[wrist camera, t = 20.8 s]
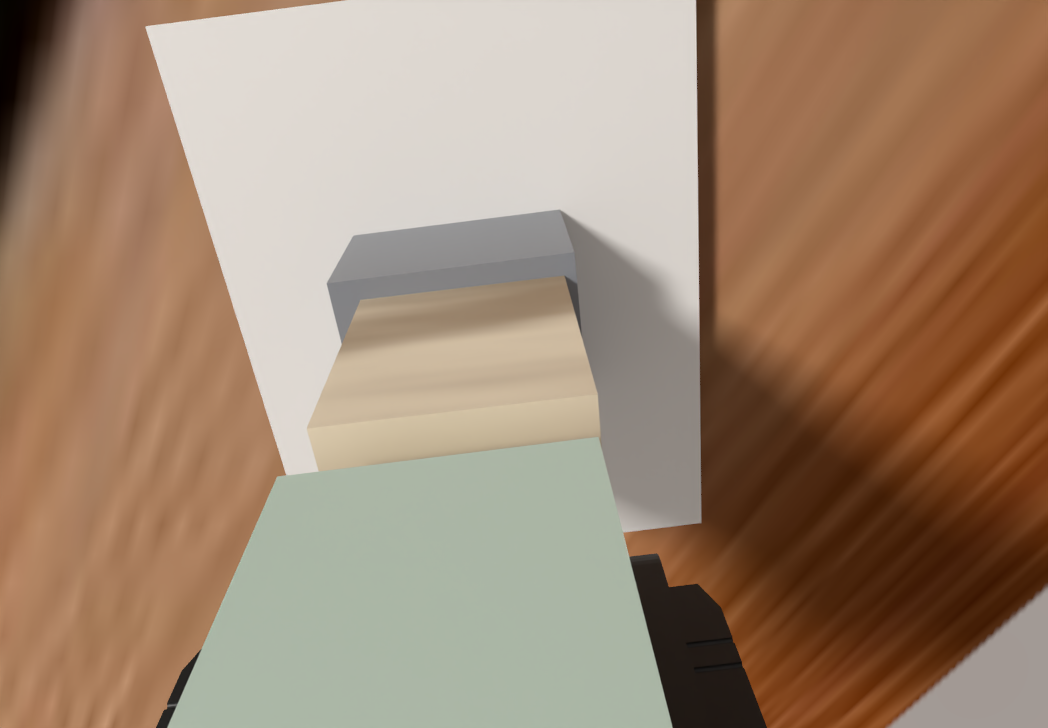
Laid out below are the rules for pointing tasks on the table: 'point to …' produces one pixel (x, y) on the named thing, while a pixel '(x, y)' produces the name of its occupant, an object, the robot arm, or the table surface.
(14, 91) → the table surface
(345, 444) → the birch block
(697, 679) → the robot arm
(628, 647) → the sage block
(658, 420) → the build plate
